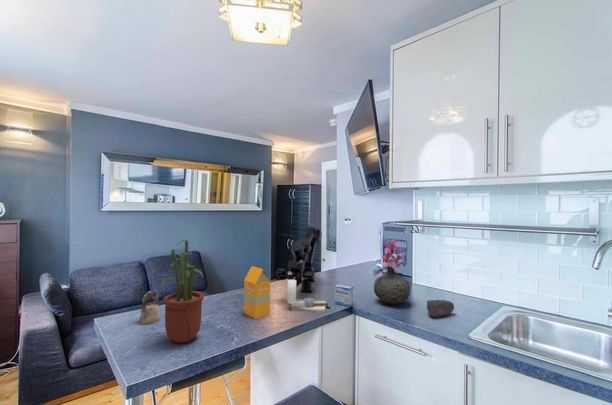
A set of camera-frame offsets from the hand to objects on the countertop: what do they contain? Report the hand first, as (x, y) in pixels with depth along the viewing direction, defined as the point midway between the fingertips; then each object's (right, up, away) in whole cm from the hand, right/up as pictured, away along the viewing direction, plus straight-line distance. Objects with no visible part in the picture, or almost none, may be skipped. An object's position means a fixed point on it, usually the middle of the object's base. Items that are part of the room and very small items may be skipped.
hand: (291, 291), depth 135 cm
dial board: (+10, -7, +1) cm, 12 cm away
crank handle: (+8, -6, -1) cm, 10 cm away
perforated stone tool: (+66, -9, -7) cm, 67 cm away
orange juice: (-15, -7, -9) cm, 19 cm away
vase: (+48, -8, +8) cm, 50 cm away
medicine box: (+25, -8, +5) cm, 27 cm away
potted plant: (-38, -7, -32) cm, 51 cm away
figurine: (-56, -6, -18) cm, 59 cm away
